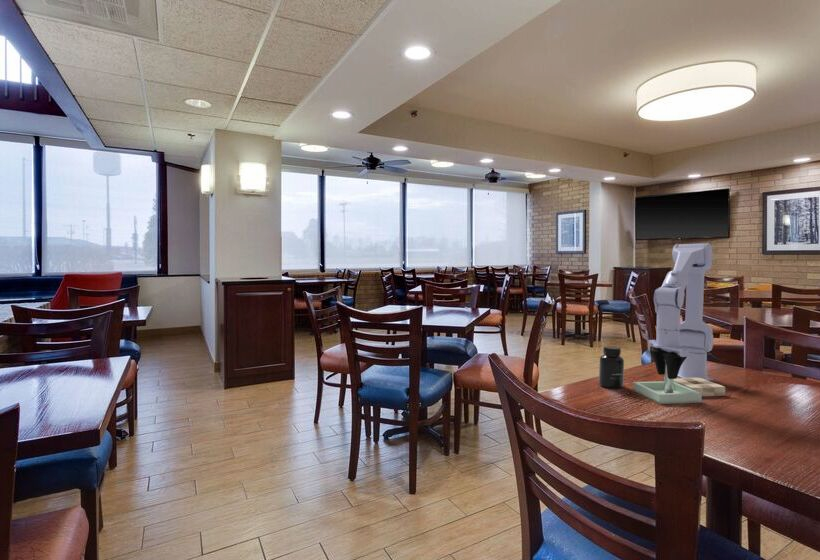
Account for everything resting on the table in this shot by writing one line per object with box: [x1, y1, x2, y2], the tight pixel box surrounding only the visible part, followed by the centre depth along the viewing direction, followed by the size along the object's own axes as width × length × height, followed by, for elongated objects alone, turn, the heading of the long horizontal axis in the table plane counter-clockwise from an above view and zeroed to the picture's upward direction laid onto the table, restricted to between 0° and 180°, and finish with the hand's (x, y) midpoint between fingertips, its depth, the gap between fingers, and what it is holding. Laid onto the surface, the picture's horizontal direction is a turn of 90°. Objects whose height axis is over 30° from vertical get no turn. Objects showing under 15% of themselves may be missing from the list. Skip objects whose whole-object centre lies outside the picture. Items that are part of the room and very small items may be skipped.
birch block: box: [674, 377, 726, 397], centre depth 127 cm, size 10×10×2 cm
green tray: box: [632, 380, 703, 405], centre depth 122 cm, size 12×12×2 cm
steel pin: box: [663, 358, 674, 393], centre depth 124 cm, size 3×3×10 cm
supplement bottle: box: [598, 345, 625, 389], centre depth 133 cm, size 7×7×12 cm
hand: (667, 376), depth 123 cm, fingers open, 4 cm apart
